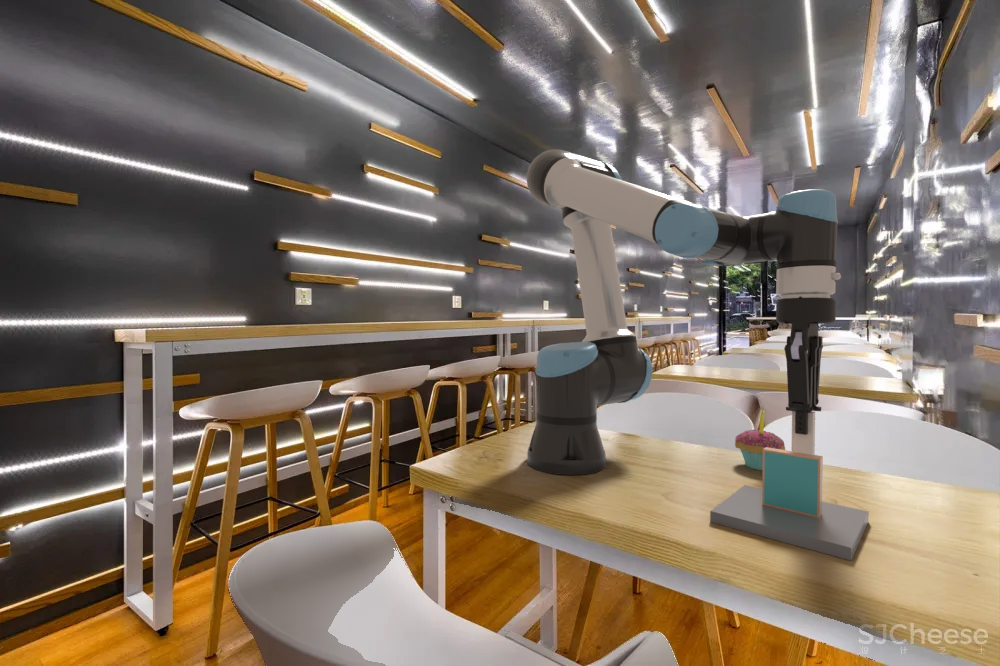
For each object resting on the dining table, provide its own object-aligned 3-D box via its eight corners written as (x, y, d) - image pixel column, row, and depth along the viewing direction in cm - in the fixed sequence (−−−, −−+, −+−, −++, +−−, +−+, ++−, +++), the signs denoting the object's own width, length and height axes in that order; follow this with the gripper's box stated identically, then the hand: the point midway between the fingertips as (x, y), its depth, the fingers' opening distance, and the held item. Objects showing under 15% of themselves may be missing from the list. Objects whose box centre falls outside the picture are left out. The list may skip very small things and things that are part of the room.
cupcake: (792, 475, 88) (793, 409, 88) (741, 472, 90) (742, 408, 89) (775, 462, 96) (776, 402, 96) (729, 459, 98) (729, 400, 98)
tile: (761, 504, 70) (762, 449, 70) (765, 501, 71) (766, 447, 71) (819, 518, 65) (820, 458, 65) (821, 514, 66) (822, 456, 66)
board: (710, 521, 67) (710, 511, 67) (744, 494, 78) (744, 484, 78) (851, 560, 56) (851, 547, 56) (868, 522, 67) (868, 511, 67)
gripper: (826, 294, 65) (824, 469, 66) (843, 298, 75) (840, 450, 75) (765, 296, 70) (762, 458, 71) (787, 299, 80) (785, 442, 80)
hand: (802, 454), depth 73 cm, fingers closed
